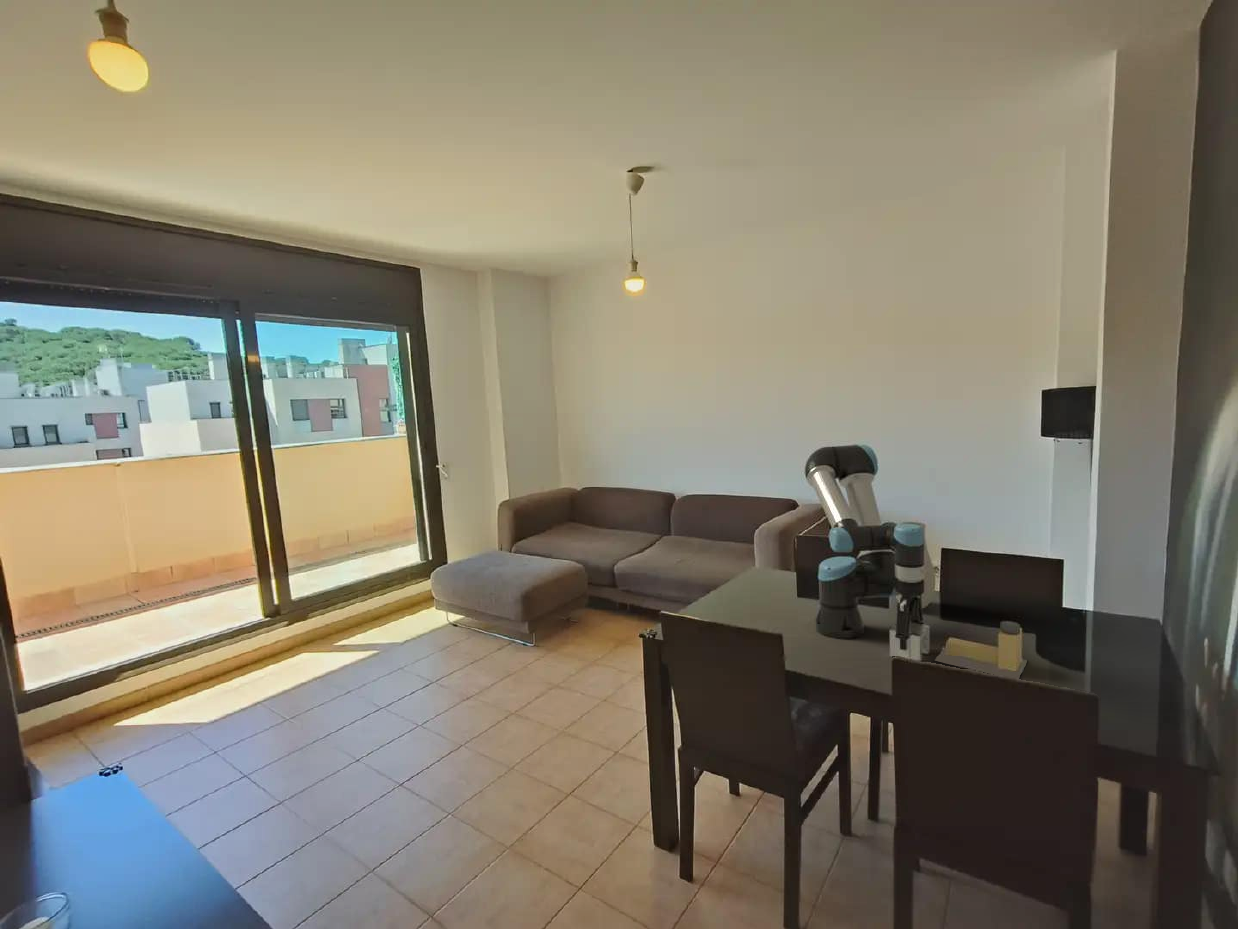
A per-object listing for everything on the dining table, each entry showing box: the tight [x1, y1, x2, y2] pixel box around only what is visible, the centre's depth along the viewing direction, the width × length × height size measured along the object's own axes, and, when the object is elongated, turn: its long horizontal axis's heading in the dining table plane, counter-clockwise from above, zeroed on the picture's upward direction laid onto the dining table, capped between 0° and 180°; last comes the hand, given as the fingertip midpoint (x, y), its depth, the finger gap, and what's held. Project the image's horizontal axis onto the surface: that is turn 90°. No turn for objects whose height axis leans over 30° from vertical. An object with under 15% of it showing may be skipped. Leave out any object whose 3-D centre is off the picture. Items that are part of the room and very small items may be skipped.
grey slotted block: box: [889, 622, 930, 661], centre depth 166 cm, size 8×9×8 cm
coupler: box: [945, 620, 1023, 671], centre depth 159 cm, size 17×8×12 cm, turn 46°
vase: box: [895, 521, 936, 610], centre depth 200 cm, size 14×14×30 cm
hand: (909, 653), depth 167 cm, fingers closed on grey slotted block, 9 cm apart
